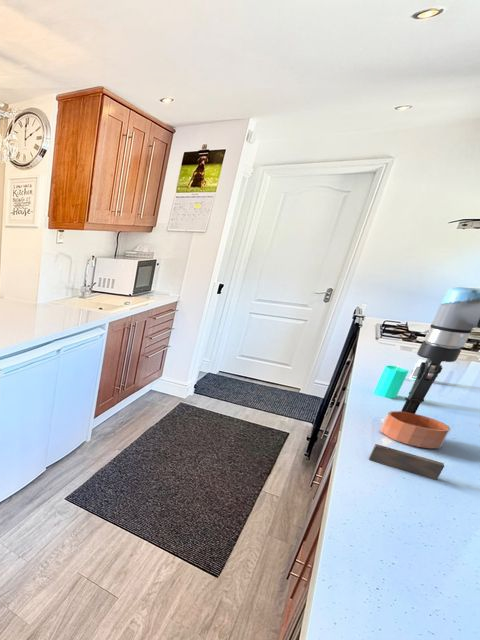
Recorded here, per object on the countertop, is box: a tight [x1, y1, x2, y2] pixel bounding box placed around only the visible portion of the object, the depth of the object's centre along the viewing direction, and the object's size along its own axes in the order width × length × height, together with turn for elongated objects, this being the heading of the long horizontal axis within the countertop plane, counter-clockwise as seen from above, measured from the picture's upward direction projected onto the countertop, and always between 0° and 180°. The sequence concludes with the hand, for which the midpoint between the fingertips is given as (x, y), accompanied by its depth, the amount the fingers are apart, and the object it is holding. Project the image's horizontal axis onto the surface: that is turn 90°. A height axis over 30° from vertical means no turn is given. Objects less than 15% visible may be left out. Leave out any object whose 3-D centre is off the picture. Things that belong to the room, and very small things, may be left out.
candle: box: [373, 364, 409, 399], centre depth 145 cm, size 6×6×12 cm
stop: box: [368, 443, 445, 481], centre depth 99 cm, size 12×2×4 cm, turn 45°
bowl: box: [380, 410, 452, 449], centre depth 114 cm, size 12×12×6 cm
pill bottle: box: [408, 358, 427, 381], centre depth 163 cm, size 5×5×8 cm
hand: (403, 420), depth 120 cm, fingers closed
